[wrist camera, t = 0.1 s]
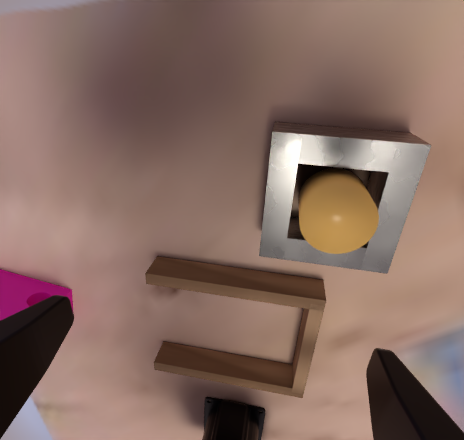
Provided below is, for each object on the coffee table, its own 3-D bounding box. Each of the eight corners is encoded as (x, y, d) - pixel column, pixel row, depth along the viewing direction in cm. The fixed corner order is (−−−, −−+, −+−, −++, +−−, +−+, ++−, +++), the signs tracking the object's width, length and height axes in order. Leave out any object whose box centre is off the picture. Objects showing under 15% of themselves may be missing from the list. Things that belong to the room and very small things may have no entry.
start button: (357, 232, 20) (367, 258, 17) (294, 224, 20) (294, 248, 18) (374, 171, 18) (388, 190, 15) (303, 164, 18) (305, 182, 16)
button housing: (375, 246, 22) (387, 273, 19) (263, 232, 23) (259, 256, 20) (410, 132, 18) (431, 145, 16) (275, 121, 20) (272, 131, 17)
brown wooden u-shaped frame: (301, 373, 29) (302, 398, 27) (163, 348, 31) (154, 369, 29) (323, 280, 24) (326, 300, 22) (157, 256, 26) (145, 273, 24)
